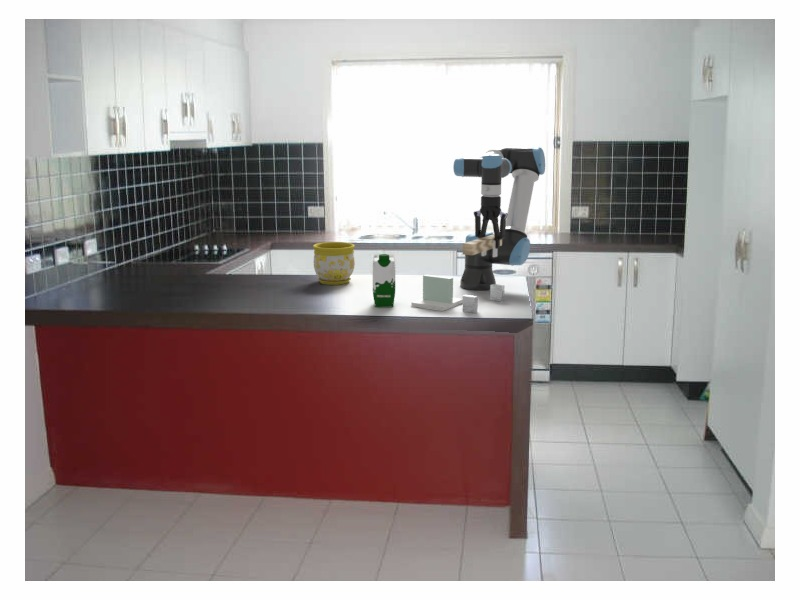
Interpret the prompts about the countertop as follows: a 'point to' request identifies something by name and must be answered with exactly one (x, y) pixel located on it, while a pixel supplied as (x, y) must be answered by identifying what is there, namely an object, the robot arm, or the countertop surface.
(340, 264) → the flowerpot
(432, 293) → the ridge stand
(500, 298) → the posts
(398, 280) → the countertop surface
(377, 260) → the milk carton
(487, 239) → the batten
